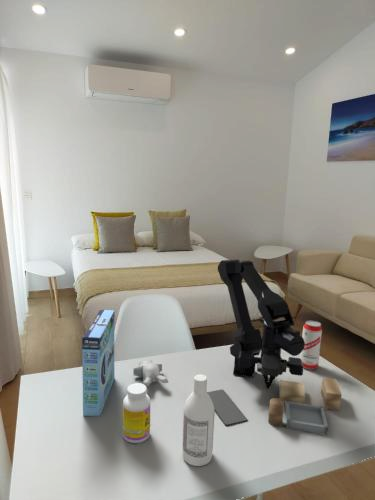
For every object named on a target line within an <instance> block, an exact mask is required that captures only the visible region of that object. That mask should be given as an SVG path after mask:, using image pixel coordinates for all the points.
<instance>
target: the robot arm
mask: <svg viewBox="0 0 375 500" xmlns="http://www.w3.org/2000/svg"><path fill="white" fill-rule="evenodd" d="M217 272H218V274H219V277H220V281H222V282H223V283H224V284H225V285H226V286H227V291H228V294H229V297H230V302H231V303H230V304H231V307H232V311H233V315H234V319H235V324H236V331H235V335H234V343H233V344H232V345H230V346H229V353H230V355H231V356H233V357H234V364H233V373H232V375H233V376H241V377H245V378H253V377H254V374H255V373H256V371H257V372H258V373H261V376H262V378H263V381H264V384H265V388H266V390H269V389H271V387H272V384H273V382H274V381H275V379H276V378H277V377H279V376H281V375H283V374H284V373H287V369H288V372H289V373H290V374H291V375H293V376H303V375H304V368H303V363H302V360H301V359H300V357H296V356H299V355H300V353H301V352H302V350H303V349H304V346H305V342H304V339H303V337H302V335H301V331H299V330H298V329H295V328H293V327H294V326H295V322H294V318H293V315H292V313H291V310H290V308H289V307H290V306H289V304H288V302H287V301H286V300H285V299H284V298H283V297H282V296H281V295H280V294H278V293H276V292H275V291H273V290H272V289H271V288H270V287H269V285H267V283H266V281H264V278H263V277H262V276H261V275H260V273H259V272H258V271H257V269H256V268H255V267H254V263H253V261H251V260H239V259H238V258H237V259H224V260H223V259H222V260H221V261H220V262H219V264H218V265H217ZM243 281H244V282H245V284H246V285H247V286H248V288H249V289H250V291H251V292H252V294H253V295H254V297H255V298H256V300H257V309H258V311H259V313H260V315H261V318H260V319H258V321H259V322H260V323H262V334H261V331H260V330H261V329H259V328H255V326H253V323H252V320H251V316H250V311H249V307H248V302H247V299H246V295H245V290H244V287H243ZM283 319H284V320H283ZM282 350H283V351H284V352H286V353H288V354H289V355H291V356H292V357H291V356H288V359H283V358H282V356H281V354H282ZM256 367H257V368H256Z"/></svg>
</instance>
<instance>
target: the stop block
mask: <svg viewBox="0 0 375 500" xmlns="http://www.w3.org/2000/svg"><path fill="white" fill-rule="evenodd" d="M320 390H321V391H320V394H321V399H322V404H323V408H324V409H328V410H333V411H340V410H341V403H342V395H343V393H342V392H341V388H340V385H339V383H338V380H337V379H335V378H333V379H332V378H327V377H326V378H325V377H323V378H322V380H321V389H320Z"/></svg>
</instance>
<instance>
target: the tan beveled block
mask: <svg viewBox="0 0 375 500" xmlns="http://www.w3.org/2000/svg"><path fill="white" fill-rule="evenodd" d="M278 388H279V389H278V390H279V391H278V392H279V398H278V399H280V400H282V401H283V402H286V401H289V402H296V403H302V404H305V402H306V391H305V383H303V382H299V381H298V382H297V381H291V380H286V379H285V380H283V379H280V380H279V386H278Z"/></svg>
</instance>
